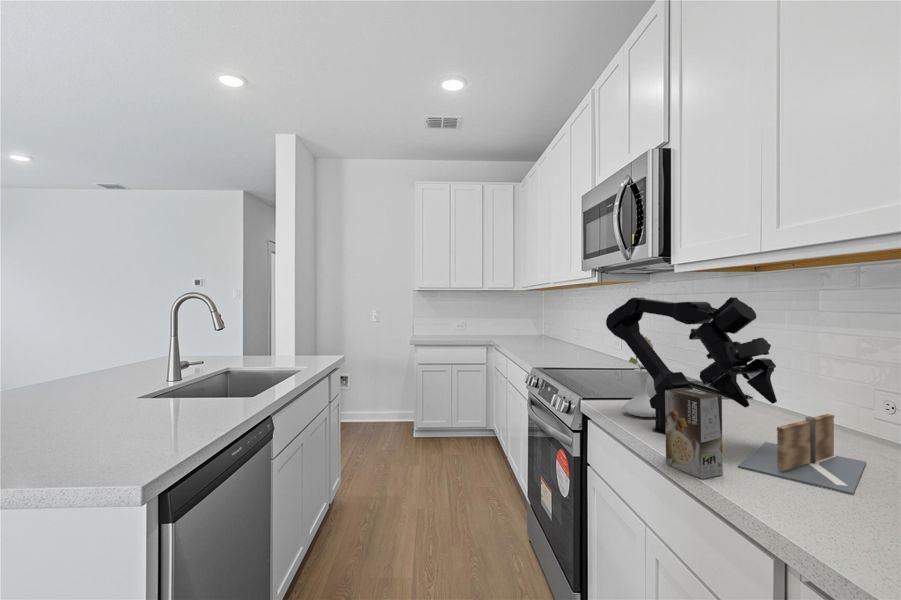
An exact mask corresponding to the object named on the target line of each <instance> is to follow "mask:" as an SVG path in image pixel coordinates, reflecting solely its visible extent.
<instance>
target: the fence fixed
mask: <svg viewBox="0 0 901 600" xmlns="http://www.w3.org/2000/svg"><path fill="white" fill-rule="evenodd" d="M834 419H835V415H834V414H829V413H825V414H822V415H817V416H805V421H809V422H811V425H810V463H815V462H817V461H820V460H823V459H826V458H829V457H832V456H834V455H835V453H834V452H835V451H834V450H835V448H834V447H835V440H834V439H835V432H834V431H835V426H834V425H835V424H834V423H835V422H834V421H835V420H834Z"/></svg>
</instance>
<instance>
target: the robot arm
mask: <svg viewBox="0 0 901 600" xmlns="http://www.w3.org/2000/svg"><path fill="white" fill-rule="evenodd" d="M644 313H646V314H653V315H658V316H664V317H669V318H671V319H674V320H675V321H677V322H679V323H682V324H685V325H700V326H698V327H697V328H691V329H690V333H689V335H688V339H689V340H692V341H693V340H699V341H700V342H701V343H702V345H703V346H704V348H705V349H706V351H707V352H708V353H707V354H706V355H705V356H706V358H707V359H708V360H713V362H711V364H709V365H708V366H706V367H705V368H704V369H702V370H700V372H699V379H700V381H701V382H702V383H703V385H705V386H706V385H708V386H709V388H713V389H715V390H717V391H718V392H720V393H722V394H723V395H725V396H726V397H728V398H730V399H731V400H733V401H734V402H736V403H738V404H739V405H740V406H742V407H743V408H748V407H750V403H749V400H748V398H747V397H746V395H745V393H744V392H743V390H742V388H741V387H740V385H739V383H738V382H737V379H738V377H737V376H738V375H741V376H742V377H743V379H745V380H747V381H746V384H747V385H749V386H751V387H752V388H753V389H754V390H755V391H756V392H757V393H759V394H760V395H761V396H762V397H764V399H765V400H767V401H768V402H770V404H776V403H777V402H778V400H777V396H776V393H775V390H774V387H773V385H772V380H771V377H772V375H773V373H774V371H775V369H776V367H777V365H776V363H774V361H773V360H772V359H771V358H765V357H762V358H755V359H754V358H753V357H759V356H763V355H764V356H768V355H770V352H769V351H770V350H771V344H770V343H769V342H768V340H766V339H765V337H757V338H753V339H752V340H751V341H747V342H742V343H741V342H740V341H733V339H732V338H731V337H730V336H729V334H733V335H734V334H737V333H739V332H740V331H741V330H742V329H744V328H745V327H746V326H748V325H749V324H751V323H753V321H755V320H756V319H757V313H756V312H755V310H754V309H753V308H752V307H751V306H749V305H748V304H747V303H745V302H743V301H742V300H739V299H738V297H735V296H734V297H733V296H732V297H729V298H728V299H727V300H725V302H724V303H723V304H722V305H720V307H718V308H715V307H713V306H712V305H711V303H710V302H707V301H678V302H674V301H673V302H672V301H665V300H657V299H651V298H646V297H631V298H630V299H628V300H627V301H626V302H625V303H623V304H622V305H620V306H618V307H616V308H615V309H614V310H613V311H612V312H610V313H609V314H608V315H607V317H606V320H605V322H606V323H605V325H606V328H607V329H608V330H609V331H610V332H611V334H613V335H614V336H615V337H617V338H619V339H620V340H622V341H624V342H625V343H626V345H627V346H628V347H629V349H630V350H631V351H632V353H633V354H634V355H635V358H636V357H637V360H638V362H639V363H641V364H642V365H641V366H643V368H644V369H646V370H647V371H648V373H649V376H651V378H652V379H653V387H654V388H653V389H654V391H655V394H654V395H653V396H652V397H650V398H651V399H650V400H649V401H650V405H651V408H653V409H655V417H654V418H655V419H654V420H655V421H654V422H655V427H653V428H652V432H657V433H663V434H666V420H665V390H672V389H679V388H688V389H692V390H694V389H693V386H692V382H691V381H689V380H688V379H687V377H686V376H685V374H684V373H683V372H682V371H677V372H673V371H672V370H670V368H668V366H667V365H666V364H665V361H663V360H662V359H661V357H660V356H659V355H658V353H657V352H656V351H655V350H654V347H653V348H652V347H651V346H650V345H649V343H648V342H647V341H646V340H645V338H644V337H645V336H644V337H643V336H642V335H641V334H642V333H641V332H640V331H641V330H640V323H639V322H640V321H641V320H642V318H643V316H644Z"/></svg>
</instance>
